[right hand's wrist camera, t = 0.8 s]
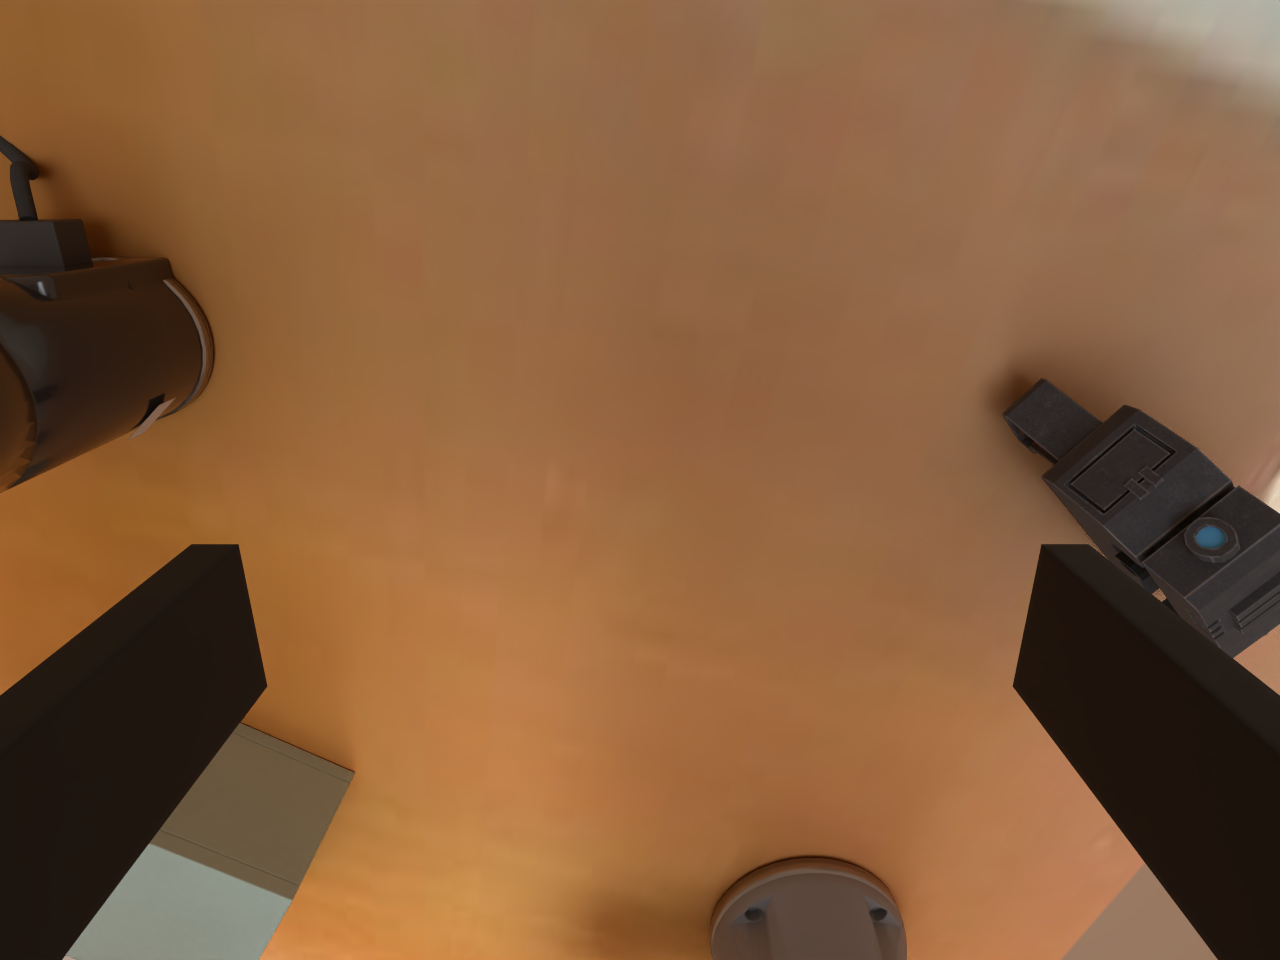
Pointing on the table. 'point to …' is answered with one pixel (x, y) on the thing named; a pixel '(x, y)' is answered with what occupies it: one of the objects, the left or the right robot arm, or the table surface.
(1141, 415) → the tool
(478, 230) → the table surface
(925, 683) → the table surface
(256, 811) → the grey box
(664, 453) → the table surface
